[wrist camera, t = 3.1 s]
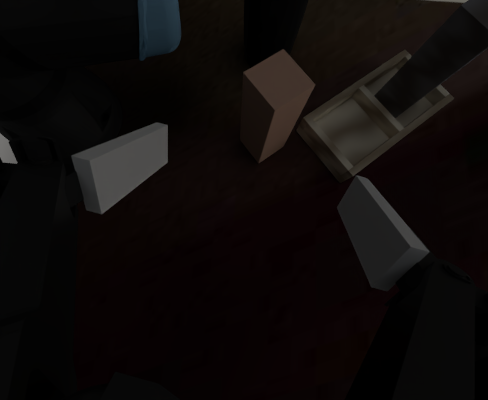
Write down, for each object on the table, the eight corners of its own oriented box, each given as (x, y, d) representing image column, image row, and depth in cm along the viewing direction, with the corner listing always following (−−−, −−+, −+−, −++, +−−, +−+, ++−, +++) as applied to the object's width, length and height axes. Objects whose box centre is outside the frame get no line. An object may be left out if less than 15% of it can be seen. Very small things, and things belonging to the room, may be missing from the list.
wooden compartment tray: (296, 130, 33) (343, 46, 19) (388, 67, 36) (488, -45, 22) (340, 183, 31) (428, 134, 17) (432, 112, 35) (569, 23, 20)
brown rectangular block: (239, 139, 32) (243, 72, 19) (264, 123, 33) (283, 48, 20) (258, 163, 31) (275, 110, 19) (283, 146, 32) (315, 84, 19)
